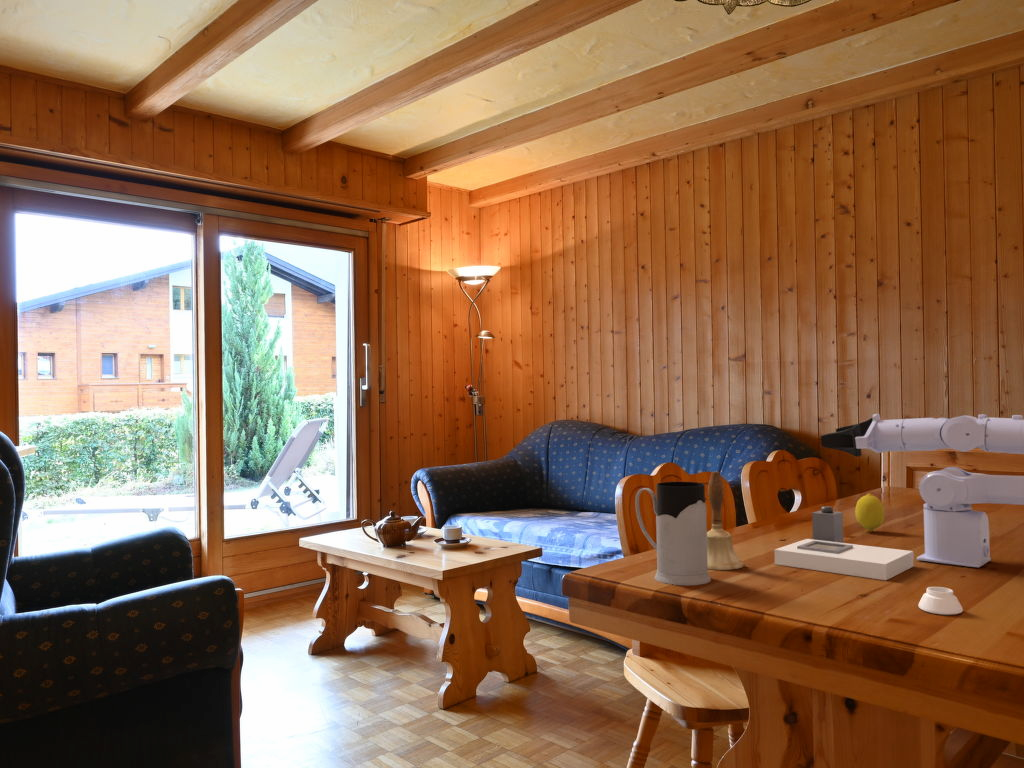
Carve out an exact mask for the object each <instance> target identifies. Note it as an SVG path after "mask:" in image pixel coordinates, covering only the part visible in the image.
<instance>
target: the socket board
mask: <svg viewBox="0 0 1024 768" xmlns="http://www.w3.org/2000/svg"><path fill="white" fill-rule="evenodd" d="M774 565H778V566H785V567H791V568H799V569H805V570H813V571H818V572H825V573H830V574H831V573H832V574H837V575H838V574H839V575H845V576H854V577H859V578H867V579H873V580H880V581H887V580H889V579H890V580H891V578H893V577H896V576H897V575H899V574H901V573H903V572H905V571H907V570H909V569H911V568H913V567H914V566H915V564H914V551H913V550H906V549H897V548H889V547H880V546H870V545H864V544H863V545H862V544H855V543H847V542H843V543H839V542H831V541H822V540H814V539H813V538H805V539H802V540H799V541H796V542H793V543H790V544H787V545H783V546H782V547H778V548H775V549H774Z"/></svg>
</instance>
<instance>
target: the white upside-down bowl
mask: <svg viewBox="0 0 1024 768" xmlns="http://www.w3.org/2000/svg"><path fill="white" fill-rule="evenodd" d="M917 605H918V608H919V609H920V610H921V611H924V612H926V613H929V614H934V615H941V616H955V615H958V614H961V613H962V612H963V610H964V609H963V606H962V605H961V603H960V601H959V599H958V597H957V596H956V595H955V594H954V590H953V589H952V588H951V589H950V588H948V587H942V586H928V587H927V588H926V592H925V593H923V595H922V597H921V598H920V601H919V602H918V604H917Z"/></svg>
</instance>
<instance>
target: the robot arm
mask: <svg viewBox="0 0 1024 768" xmlns="http://www.w3.org/2000/svg"><path fill="white" fill-rule="evenodd" d="M977 417H978V418H977ZM977 417H975V416H973V415H972V416H971V415H969V414H968V415H967V414H965V415H960V416H954V417H952V418H948V417H947V418H946V417H939V418H935V417H921V418H920V417H919V418H900V419H881V415H880V413H874V414H872V417H871V418H869V419H868V420H865V421H862V422H859V423H856V424H851V425H846V426H842V427H841V426H840V427H838V428H836V429H835V431H834V432H829V433H825V434H823V435H820V442H821V443H820V444H821V447H823V448H826V449H831V450H836V451H841V452H845V453H847V454H850V455H851V456H854V457H859V458H860V457H861V456H862V450H863V449H867V450H868V449H869V450H870V451H872V452H874V453H876V454H877V453H879V454H880V453H884V452H886V453H887V452H919V451H920V452H925V451H938V450H954V451H960V452H961V453H966V452H970V451H972V450H974V449H977V448H978V449H980V450H982V451H983V452H986V453H987V452H991V453H1002V454H1004V453H1005V454H1017V455H1024V415H1022V414H1021V415H1020V414H1013V415H1012V416H1011V418H1008V417H990V416H989V417H988V415H987V414H983V413H981V414H978V416H977ZM918 486H919V488H918V492H919V495H920V496H921V498H922V500H923V501H924V502H925V503H923V529H924V531H923V535H924V536H923V538H924V540H923V541H924V552H923V553H922V554H921V555H919V556H917V557H916V561H917V560H918V561H920V562H921V561H922V562H930V563H938V564H939V563H940V564H946V565H955V566H964V567H969V568H980V567H982V566H984V565H985V564H987V563H988V562H990V561H991V560H992V558H991V557H990V555H991V553H990V550H991V549H990V525H989V524H990V523H989V519H988V518H989V517H988V515H987V512H984V511H982V510H981V511H979V510H973V507H972V505H974V504H975V505H977V504H978V505H979V504H999V505H1002V504H1003V505H1016V506H1017V505H1019V506H1020V505H1021V506H1024V475H1006V474H1005V475H1004V474H1001V475H1000V474H985V473H979V472H977V473H976V472H969V471H966V470H964V469H961V468H960V467H955V466H949V467H945V468H942V469H939V470H934V471H930V472H928V473H926V474H925V475H924V476H923V477H922V478H921V479H920V482H919V485H918Z"/></svg>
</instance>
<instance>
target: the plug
mask: <svg viewBox="0 0 1024 768" xmlns="http://www.w3.org/2000/svg"><path fill="white" fill-rule="evenodd" d="M820 508H821V510H817V511H814V512H811V516H812V517H811V518H812V519H811V523H812V539H814V540H822V541H831V542H839V543H844V522H843V521H844V520H843V511H834V507H833V506H829V505H828V506H827V505H826V506H824V505H823V506H821V507H820Z"/></svg>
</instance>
